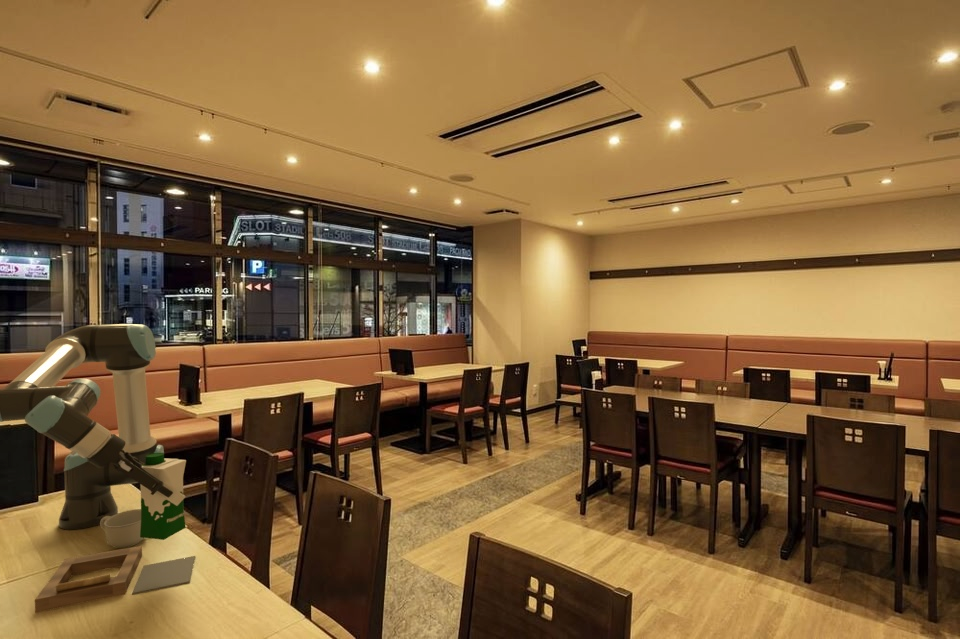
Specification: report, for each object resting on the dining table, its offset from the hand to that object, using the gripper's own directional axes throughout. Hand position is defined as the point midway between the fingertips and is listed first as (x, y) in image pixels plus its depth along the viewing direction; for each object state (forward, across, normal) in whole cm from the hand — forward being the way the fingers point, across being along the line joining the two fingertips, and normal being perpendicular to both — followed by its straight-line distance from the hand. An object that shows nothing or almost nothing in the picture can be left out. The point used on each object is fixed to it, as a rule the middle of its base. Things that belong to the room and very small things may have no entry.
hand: (177, 495), depth 129 cm
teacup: (+8, -30, -21) cm, 37 cm away
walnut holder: (+2, -9, -26) cm, 28 cm away
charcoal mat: (+12, -1, -16) cm, 20 cm away
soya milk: (+4, 0, -9) cm, 10 cm away
